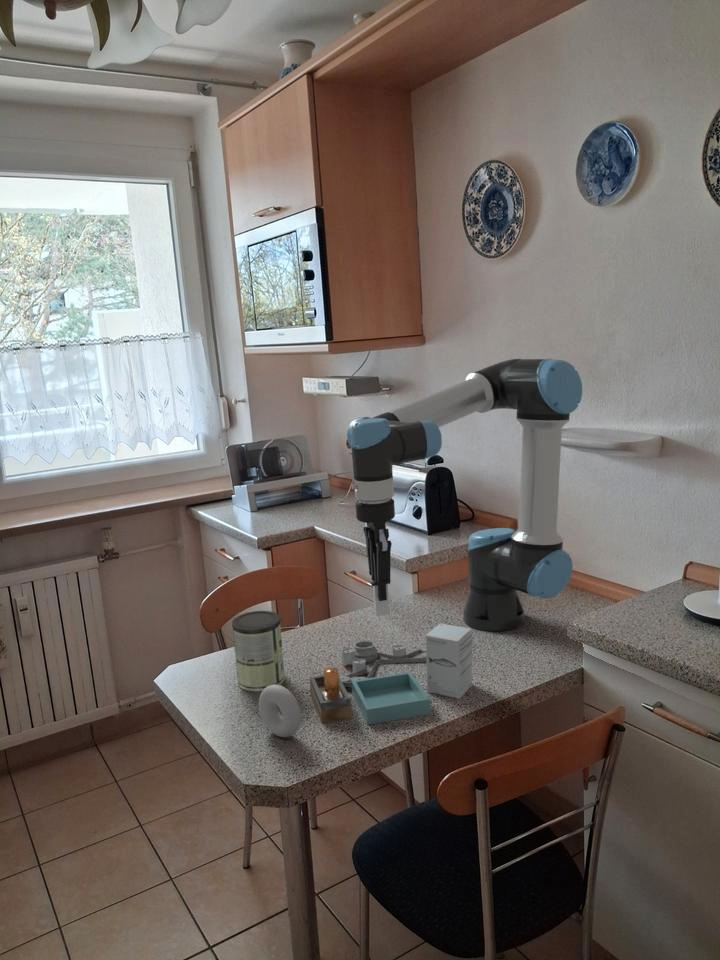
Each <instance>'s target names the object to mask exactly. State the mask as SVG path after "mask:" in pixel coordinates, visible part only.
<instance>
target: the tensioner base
mask: <svg viewBox="0 0 720 960" xmlns="http://www.w3.org/2000/svg"><path fill="white" fill-rule="evenodd" d="M338 676H339V690H340V692H341V694H342V696H343V698H338V699H332V700H326V701H324V700H323V697H322V692H324V691H325V683H324V674H322V675H313V676H309V692H310V693H309V694H310V698H311V700H312V702H313V705H314V707H315V710H316V712H317V715H318V717H319V720H320V723H321V724H324V723H330V722H334V721H335V722H337V721H340V720H341V721H342V720H347V719H352V718H353V715H352V714H353V712H352V705H351V697H350V695H349V693H348V691H347V689H346V687H344V685H343V683H342V681H341V679H340V677H341V676H340V675H339V674H338Z"/></svg>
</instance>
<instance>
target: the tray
mask: <svg viewBox="0 0 720 960" xmlns="http://www.w3.org/2000/svg"><path fill="white" fill-rule="evenodd" d="M366 678H367V677H366ZM350 682H352V687H351V694H352V697H353V699H354V701H355V703H356V704H357V707H358V709H359V711H360V713H361V715H362V717H363V718H364V721H365V723H366V725H368V726H369V725H374V724H380V723H384V722H385V723H387V722H390V721H397V720H403V719H407V718H409V719H410V718H414V717H420V716H425V715H431V698H430V697H429V695H428V694H427V693H426V692H425V690H424V688H423V687H422V686H421V684H420V683H419V682H418V680H417V679H416V677H415V676H414V674H413V673H412V671H407V672H399V673H393V674H387V675H380V676H375V677H374V676H373V677H370V678H367V679H360V680H354V681H352V680H350Z"/></svg>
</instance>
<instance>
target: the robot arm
mask: <svg viewBox="0 0 720 960" xmlns="http://www.w3.org/2000/svg"><path fill="white" fill-rule="evenodd" d="M582 397H583V384H582V379H581V376H580V373H579V372H578V371H577V370H576V368H575V366H574V365H573V364H571V363H570V362H568V361H566V360H562V359H554V358H541V359H540V358H536V359H535V358H534V359H533V358H523V359H522V358H512V359H507V360H504V361H500V362H498V363H495V364H492V365H488V366H487V367H485V368H482V369H479V370H477V371H475V372H471V373H469V374H468V375H467V376H466V377H465V378H464V380H463V381H461V382H459V383H455V384H454V385H451V386H449V387H447V388H444V389H440V390H439V391H436V392H434V393H432V394H429V395H426V396H424V397H421V398H419V399H417V400H414V401H411V402H409V403H407V404H404V405H401V406H399V407H396V408H394V409H391V410H389V411H386V412H384V413H381V414H378V415H376V416H373V417H369V416H364V417H361V416H360V417H358V418H355V419H353V420H352V421H351V422H350V423H349V425H348V427H347V431H346V438H347V440H346V441H347V443H348V444H349V447H350V448H351V461H352V471H353V481H354V484H351V490H354V496H355V499H356V500H357V501H355V515H356V516H355V517H356V520H357V521H359V522H361V523H364V524H366V526H364V527H363V533H364V538H365V547H366V555H367V563H368V573H369V576H371V582H370V584H371V587H372V593H373V595H372V596H373V608H374V610H373V611H374V615H375V616H376V617H379V616H385V615H390V603H389V602H390V601H389V586H388V585H390V584H391V582H392V581H391V551H392V545H393V544H392V541H391V540H389V537H390V532H389V528H388V527H387V525H386V523H387V522H389V521H391V520H393V519H394V518H395V516H396V509H395V500H394V499H393V497H394V496H395V487H394V476H393V474H394V473H393V466H396V465H399V464H405V463H410V462H415V461H421V460H422V461H423V460H426V459H428V458H431V457H434V456H435V457H436V455H438V454H439V452H440V451H441V448H442V445H443V441H442V440H443V439H442V433H441V430H440V428H441V427H444V426H445V425H448V424H451V423H452V422H456V421H457V420H459V419H462V418H465V417H467V416H469V415H472V414H474V413H476V412H477V413H480V414H483V413H484V414H485V413H487V412H490V411H493V410H498V409H499V410H500V409H502V410H503V409H504V410H505V409H507V410H508V409H509V410H516V420H517V422H518V423H519V424H520V425H521V426H522V442H521V443H522V444H521V461H520V462H521V463H520V464H521V465H520V483H519V485H520V487H519V489H520V490H519V508H518V509H519V511H518V529H517V530H515V529H514V528H508V527H507V528H506V527H496V528H487V529H486V528H485V529H481V530H477V531H476V532H472V533H471V534H470V536H469V538H468V548H467V553H468V554H467V555H468V556H467V557H468V558H467V559H468V579H469V582H468V583H469V592H468V594H467V597H466V600H465V604H464V607H463V610H462V614H463V615H462V619H463V622H464V624H466V625H467V626H468V627H471V628H472V629H476V630H480V631H487V632H500V631H501V632H504V631H510V630H514V629H517V628H519V627H521V626H522V625H523V624H524V623H525V609H524V607H523V604H522V601H521V598H520V596H519V593H518V592H522V593H524V594H527V595H529V596H531V597H534V598H536V597H538V598H541V599H546V600H547V599H552V598H554V597H556V596H558V595H560V594H561V593H562V591H564V589H565V588H566V587H567V585H568V584H569V582H570V579H571V577H572V573H573V559H572V557H571V556H570V554H569V553H568V552H567V551H565V550H563V543H564V540H563V539H564V538H563V537H562V536H561V535H560V534H559V533H558V531H557V529H558V512H559V509H558V508H559V492H560V491H559V489H560V473H561V472H560V469H561V454H562V453H561V452H562V450H561V449H562V433H563V431H562V430H563V428H564V426H566V424H567V423H569V421H570V415H571V413H573V412H574V411H576V410H577V409H578V407H579V404H580V403H581V401H582Z"/></svg>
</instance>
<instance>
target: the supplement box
mask: <svg viewBox="0 0 720 960" xmlns="http://www.w3.org/2000/svg"><path fill="white" fill-rule="evenodd" d="M425 642H426V643H425V647H426V658H427V662H426V686H427V687H426V692H427V693H433V694H437V695H442V696H446V697H450V698H455V699H458V700H460V699H461V698H462V697H463V696H464V695H465V694H466V692H468V690H469V689H470V688H471V687H472V686H473V628H468V627H463V626H456V625H451V624H445V623H441V622H440V623H439V624H438V625H436V626H435V627H434V628H432V629H431V630H430V631H429V632H428V633H427V634H426V635H425Z"/></svg>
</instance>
